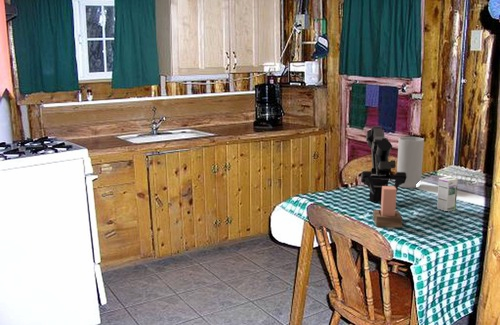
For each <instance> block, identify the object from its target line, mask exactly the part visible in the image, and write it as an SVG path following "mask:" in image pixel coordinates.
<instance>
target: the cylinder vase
mask: <svg viewBox="0 0 500 325" xmlns="http://www.w3.org/2000/svg"><path fill="white" fill-rule="evenodd" d="M424 143H425V138H422V137H417V136H401V137H399V138H398V145H397V146H398V147H397V162H396V172H405V173H406V176H407V177H406V180H405V183H403V184H402V185H399V187H400V188H404V189H417V188H416V184H417V183H418V182H419V181H420V180H421V181H422V175H423V173H422V172H423V160H424V147H425V146H424V145H425V144H424Z"/></svg>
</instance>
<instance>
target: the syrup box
mask: <svg viewBox="0 0 500 325" xmlns="http://www.w3.org/2000/svg"><path fill="white" fill-rule="evenodd" d="M458 180H459V179H458V178H456V177H453V176H443V177H439V178H438V187H437V201H436V202H437V203H436V204H437V205H436V209H437V210H439V209H441V210H440V211H442V210H444V211H443V212H445V211H448V212H451V211H452V210H453V211H456V209H457V195H458V183H459V182H458Z"/></svg>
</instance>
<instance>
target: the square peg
mask: <svg viewBox="0 0 500 325" xmlns="http://www.w3.org/2000/svg"><path fill="white" fill-rule="evenodd" d="M396 192H398V190H397V189H396V188H395V185H388V186H382V197H381V202H380V210H381V216H395V210H397V209H396V207H397V194H396Z"/></svg>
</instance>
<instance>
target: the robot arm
mask: <svg viewBox="0 0 500 325" xmlns="http://www.w3.org/2000/svg"><path fill="white" fill-rule="evenodd" d="M365 135H366V136H365V141H366V142H367V146H368V147H369V148H370V150H371V152H370V153H371V162H372V163H371V164H372V167H371V170H370V171H368V170H365V171H362V172H361V175H360V182H361V183H362V184H364V185H366V186H367V188H368V190H369V196H368V197H369V198H366V200H367V201H371V202H374V203H381V197H382V186H389V180H392V181H393V180H394V186H395V188H396V189H397V192H398V190H399V187H400V186H399V185H402V184H403V183H405V180H406V177H407V176H406V173H405V172H397V171H396V173H395V174H392V169H395V168H397V162H396V160H394V159H391V160H389V159H390V158H389V156H390V153H391V150H392V149H393V145H392V144H391V141H389V138H388V137H385V130H383V127H382V126H372V127H371V129H369V130H367V131H366V134H365ZM397 192H396V195H397Z"/></svg>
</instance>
